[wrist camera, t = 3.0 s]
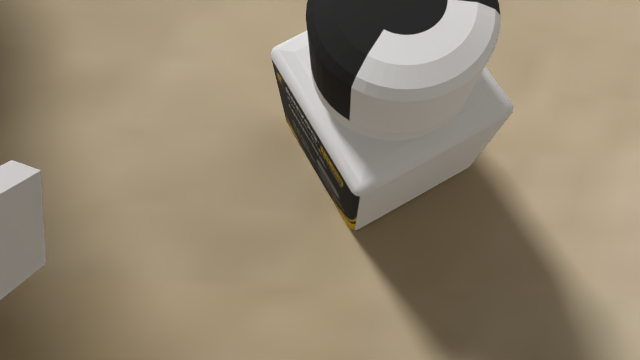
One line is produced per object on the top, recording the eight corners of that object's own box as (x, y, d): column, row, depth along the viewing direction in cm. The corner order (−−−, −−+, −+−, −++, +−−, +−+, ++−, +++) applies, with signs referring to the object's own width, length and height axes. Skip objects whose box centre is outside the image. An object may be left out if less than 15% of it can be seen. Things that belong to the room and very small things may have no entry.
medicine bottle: (284, 118, 27) (245, -37, 16) (399, 58, 28) (441, -132, 17) (351, 234, 26) (363, 152, 14) (473, 166, 26) (577, 35, 15)
